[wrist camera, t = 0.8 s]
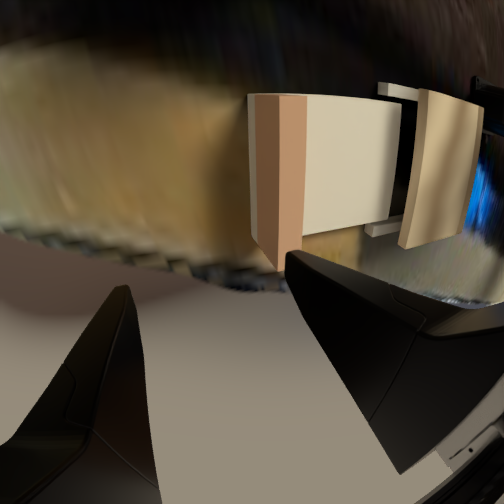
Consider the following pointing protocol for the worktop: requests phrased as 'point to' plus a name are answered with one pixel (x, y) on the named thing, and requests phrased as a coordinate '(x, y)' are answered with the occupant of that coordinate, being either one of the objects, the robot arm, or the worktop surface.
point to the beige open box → (436, 167)
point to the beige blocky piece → (318, 166)
